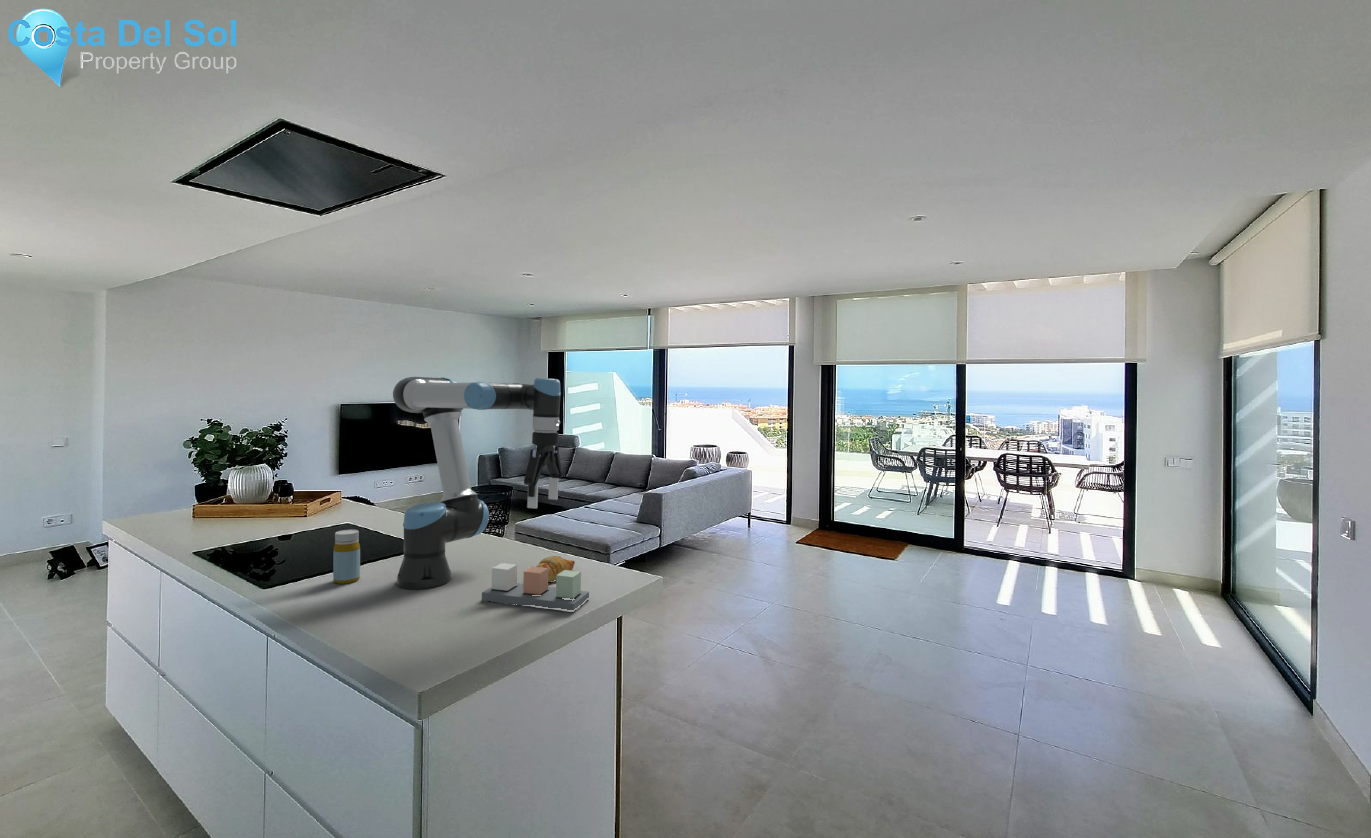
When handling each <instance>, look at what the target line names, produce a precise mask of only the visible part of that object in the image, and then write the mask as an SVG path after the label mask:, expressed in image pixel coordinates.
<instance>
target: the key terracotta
mask: <svg viewBox="0 0 1371 838" xmlns="http://www.w3.org/2000/svg"><path fill="white" fill-rule="evenodd" d="M548 571H549V568H542V567H536V566H530V568H527V569H525V570H524V571H523V583H522V584H523V593H530V594H538V595H540V594H541V593H543V592H544V591H546V590H547V589H548V587H549V583H548Z"/></svg>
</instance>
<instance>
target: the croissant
mask: <svg viewBox="0 0 1371 838" xmlns="http://www.w3.org/2000/svg"><path fill="white" fill-rule="evenodd" d="M574 566H575V560H572V559H565V558H562V557H561V556H556V555H555V556H553V555H552V556H548V557H545V558H543V559H542V560H540V561H539V563H538V564H537V565H536V566H535V567H542V568H549V571H548V582H549V583H552V582H551V581H554V580H556V575H558V574H559V573H561V572H562V571H564V570H569V571H573V569H574Z"/></svg>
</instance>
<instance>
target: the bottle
mask: <svg viewBox="0 0 1371 838" xmlns="http://www.w3.org/2000/svg"><path fill="white" fill-rule="evenodd" d="M359 533H360V532H359V530H357V529H343V530H338V531H336V532H335V533H334V547H333V551H332V552H333V554H332V555H333V556H332V558H333V559H332V561H333V564H332V565H333V571H332V574H333V576H332V577H333V583H336V584H337V585H347V584H352V583H356V582H357V581H358V580H360V578H361V545H360V543H359V540H360V539H359V538H360V537H359Z"/></svg>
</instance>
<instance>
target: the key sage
mask: <svg viewBox="0 0 1371 838" xmlns="http://www.w3.org/2000/svg"><path fill="white" fill-rule="evenodd" d="M581 576H582V572H581V571H577V570H571V571H569V570H564V571H562V572H561V573H559V574H558V575H556V581H555V582H556V583H555V588H556V597H562V598H570V599H573V598H574V597H576V596H577V595H578V594H580V591H582V590H581V587H582V586H581V585H582V581H581V580H582V577H581Z"/></svg>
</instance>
